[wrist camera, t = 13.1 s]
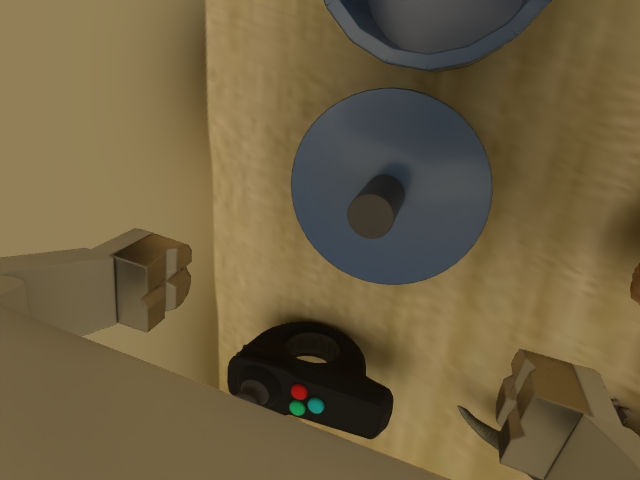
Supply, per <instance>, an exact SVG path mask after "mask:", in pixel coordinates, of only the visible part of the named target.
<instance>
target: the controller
mask: <svg viewBox="0 0 640 480" xmlns="http://www.w3.org/2000/svg"><path fill="white" fill-rule="evenodd" d="M299 356H313V357H318V358H321V359H323V360H325V361H327V363H312V362H307V361H304V360H301V359H297V358H295V357H299ZM227 382H228V388H229V392H230V393H231V394H232V395H233V396H236V397H238V398H241V399H243V400H246V401H249V402H251V403H254V404H256V405H259V406H262V407H264V408H267V409H269V410H272V411H274V412H277V413H280V414H282V415H293V416H296V417H299V418H303V419H306V420H309V421H312V422H316V423H319V424H322V425H325V426H328V427H332V428H335V429H338V430H341V431H345V432H348V433H351V434H354V435H358V436H361V437H364V438H367V439H373V438H375V437H377V436H378V435H379V434H380V433H381V432H382V431H383V430H384V429H385V428H386V427H387V425H388V423H389V420H390V417H391V414H392V409H393V395H392V393H391V391H390V389H388V388H387V387H385V386H383V385H381V384H379V383H377V382H375V381H373V380H372V379H370V378H368V377H367V376H366V363H365V358H364V355H363V353H362V352H361V350H360V348H359V347H358V345H357V344H356V343H355V342H354V341H353V340H352V339H351V338H349V337H348V336H347V335H345V334H344V333H342V332H340V331H338V330H336V329H334V328H332V327H329V326H326V325H323V324H319V323H312V322H291V323H286V324H281V325H278V326H275V327H272V328H270V329H268V330H266V331H265V332H263V333H261V334H260V335H259V336H257V337H256V338H255V339H254V340H252V341H251V342H250V343H248V344H247V345H244V346H243V349H242V350H241V351H240V352H237V354H236V356H233V357H232V359H231V360H230V361H229V365H228V380H227Z"/></svg>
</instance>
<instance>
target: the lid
mask: <svg viewBox="0 0 640 480" xmlns="http://www.w3.org/2000/svg"><path fill="white" fill-rule="evenodd" d="M291 191H292V200H293V206H294V209H295V213H296V216H297V219H298V221H299V224H300V226H301V228H302V230H303V232H304V233H305V235H306V237H307V239H308V240H309V241H310V243H311V244H312V245H313V247H314V248H315V249H316V250H317V251H318V252H319V253H320V254H321V255H322V256H323V257H324V258H325V259H326V260H327V261H328V262H330V263H331V264H332V265H334V266H335V267H337V268H338V269H340V270H341V271H343V272H345V273H347V274H349V275H351V276H353V277H356V278H359V279H362V280H364V281H369V282H373V283H378V284H387V285H400V284H409V283H414V282H418V281H422V280H426V279H428V278H431V277H434V276H436V275H438V274H440V273H442V272H444V271H445V270H447V269H449V268H450V267H451V266H453V265H454V264H456V263H457V262H458V261H459V260H460V259H461V258H462V257H464V256H465V255H466V254H467V253H468V251H469V250H470V249H471V248H472V246H473V245H474V244H475V243H476V241H477V239H478V238H479V236H480V234H481V233H482V231H483V228H484V226H485V224H486V221H487V219H488V215H489V212H490V208H491V201H492V193H493V192H492V175H491V169H490V164H489V161H488V158H487V155H486V152H485V149H484V147H483V145H482V143H481V141H480V139H479V137H478V136H477V134H476V133H475V131H474V130H473V128H472V127H471V126H470V124H469V123H468V122H467V121H466V120H465V119H464V118H463V117H462V116H461V115H460V114H459V113H458V112H456V111H455V110H454V109H453V108H451V107H450V106H449V105H447V104H445V103H444V102H442V101H440V100H439V99H437V98H435V97H432V96H430V95H427V94H425V93H422V92H418V91H414V90H411V89H402V88H379V89H373V90H367V91H364V92H360V93H357V94H354V95H352V96H349V97H347V98H345V99H343V100H341V101H339V102H338V103H336V104H335V105H333V106H331V107H330V108H329V109H328V110H326V111H325V112H324V113H323V114H322V115H321V116H320V117H319V118H318V119H317V120H316V121H315V122H314V123H313V124H312V125H311V127H310V128H309V130H308V131H307V133H306V134H305V136H304V137H303V139H302V141H301V143H300V145H299V148H298V150H297V153H296V156H295V159H294V164H293V169H292V178H291Z"/></svg>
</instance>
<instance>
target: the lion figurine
mask: <svg viewBox="0 0 640 480" xmlns="http://www.w3.org/2000/svg"><path fill="white" fill-rule="evenodd" d="M632 278H633V280H632V283H631V287H630V293H631V298H632V299H633V300H635V301H636V302H638V303H639V304H640V263H639V265H638V266H637V267H636V268H635V273H634V274H633V276H632Z"/></svg>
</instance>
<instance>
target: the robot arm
mask: <svg viewBox="0 0 640 480" xmlns="http://www.w3.org/2000/svg"><path fill="white" fill-rule="evenodd" d="M191 255H192V250H191V248H190V247H189V245H187V244H184V243H181V242H178V241H175V240H172V239H169V238H166V237H163V236H160V235H157V234H154V233H152V232H148V231H145V230H142V229H136V228H135V229H132V230H130V231H128V232H126V233H124V234H122V235H120V236H118V237H116V238H114V239H111V240H110V241H107V242H105V243H103V244H101V245H99V246H97V247H95V248H93V249H91V250H90V249H87V248H80V249H72V250H63V251H54V252H45V253H37V254H28V255H19V256H11V257H1V258H0V480H450V479H448V478H445V477H443V476H440V475H437V474H435V473H432V472H430V471H427V470H425V469H422V468H419V467H417V466H414V465H412V464H409V463H406V462H404V461H401V460H399V459H396V458H393V457H391V456H388V455H386V454H383V453H381V452H378V451H375V450H373V449H370V448H368V447H365V446H362V445H360V444H357V443H355V442H352V441H349V440H347V439H344V438H342V437H339V436H337V435H334V434H331V433H329V432H326V431H324V430H321V429H318V428H316V427H313V426H311V425H308V424H306V423H303V422H300V421H298V420H295V419H293V418H290V417H287V416H285V415H282V414H280V413H277V412H274V411H272V410H269V409H267V408H264V407H262V406H259V405H256V404H254V403H251V402H249V401H246V400H243V399H241V398H238V397H236V396H233V395H231V394H228V393H225V392H223V391H220V390H218V389H215V388H212V387H210V386H207V385H205V384H202V383H200V382H197V381H194V380H192V379H189V378H186V377H184V376H181V375H179V374H176V373H174V372H171V371H169V370H166V369H163V368H161V367H158V366H156V365H153V364H150V363H148V362H145V361H143V360H140V359H138V358H135V357H132V356H130V355H127V354H125V353H122V352H119V351H117V350H114V349H111V348H109V347H107V346H104V345H101V344H99V343H96V342H94V341H91V340H88V339H86V338H83V337H81V336H84V335H87V334H90V333H93V332H95V331H98V330H101V329H104V328H107V327H110V326H113V325H116V324H117V323H120V324H123V325H126V326H129V327H132V328H135V329H138V330H141V331H144V332H149V331H150V330H151V329H152V328H153V327H155V326H156V325H157V324H158V323H159V322H161V321H162V320H163V319H164V318H165V312H166V311H170V310H173V309H176V308H177V307H178V306H180V305H181V304H182V303H183V301H184V299H185V298H186V296H187V294H188V292H189V288H190V284H191V275H190V273H189V272H188V270H187V268H186V266H187V265H188V264H189V263H190V262H191V261H192V256H191ZM511 366H512V373H513V375H511V376H509V377H507V378H505V379H504V380H503V383H502V385H501V387H500V390H499V393H498V397H497V402H496V422H497V423H498V424H499V425H500V427H501V428H502V429H501V431H500V433H499V435H498V448H499V458H500V463H501V464H504V465H506V466H509V467H511V468H514V469H516V470H519V471H521V472H524V473H526V474H529V475H531V476H534V477H536V478H539V479H541V480H640V437H639V436H638V435H637V434H636V433H635V432H634V431H633V430H632V429H629V428H626V427H623V426H622V424H621V421H620V419H619V417H618V415H617V412H616V410H615V408H614V406H613V403H612V401H611V399H610V397H609V394H608V392H607V390H606V388H605V385H604V383H603V381H602V379H601V376H600V374H599V373H598V372H597V371H596V370H594V369H590V368H586V367H583V366H579V365H575V364H572V363H568V362H565V361H561V360H558V359H554V358H551V357H547V356H544V355H540V354H537V353H533V352H530V351H526V350H523V349H519V350H518V352H517V353H516V354H515V356H514V358H513V360H512V363H511Z"/></svg>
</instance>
